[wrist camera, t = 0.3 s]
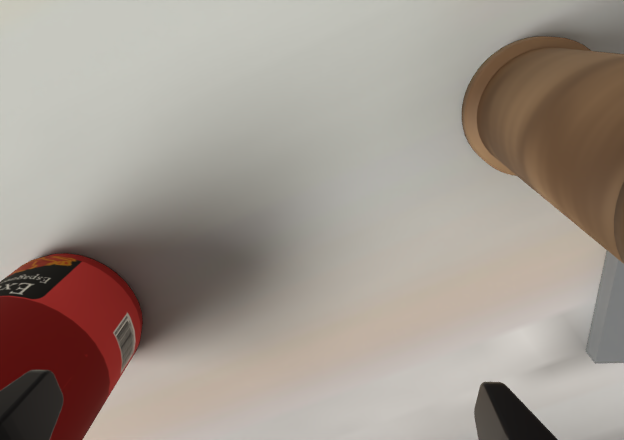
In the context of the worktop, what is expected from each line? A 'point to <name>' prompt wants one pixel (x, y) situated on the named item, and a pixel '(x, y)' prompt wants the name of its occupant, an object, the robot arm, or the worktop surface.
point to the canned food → (69, 332)
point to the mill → (555, 128)
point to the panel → (608, 315)
